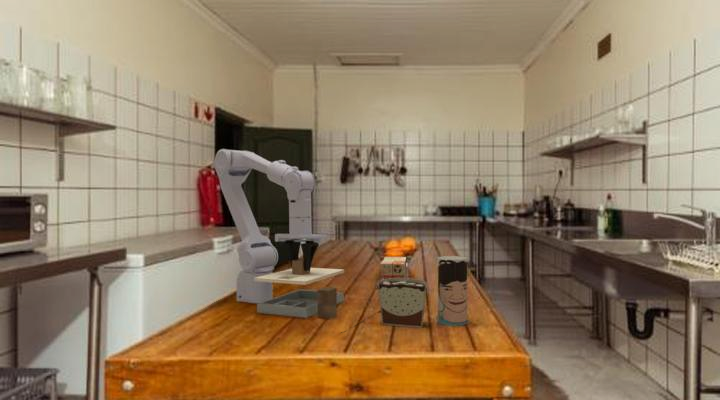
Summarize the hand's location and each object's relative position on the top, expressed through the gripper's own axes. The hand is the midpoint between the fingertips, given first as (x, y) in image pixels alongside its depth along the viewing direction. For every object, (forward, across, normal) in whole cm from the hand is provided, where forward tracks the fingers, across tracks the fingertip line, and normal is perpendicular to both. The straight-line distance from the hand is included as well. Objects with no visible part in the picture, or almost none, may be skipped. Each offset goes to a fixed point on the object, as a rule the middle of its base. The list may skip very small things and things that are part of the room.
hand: (301, 270), depth 135 cm
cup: (+11, +39, +3) cm, 41 cm away
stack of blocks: (+11, +18, +20) cm, 29 cm away
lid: (+2, 0, 0) cm, 2 cm away
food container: (+11, +29, -2) cm, 31 cm away
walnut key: (+10, +11, -6) cm, 16 cm away
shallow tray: (+10, 0, +1) cm, 10 cm away
